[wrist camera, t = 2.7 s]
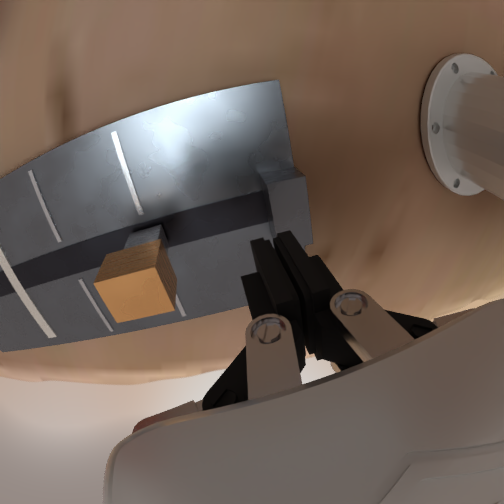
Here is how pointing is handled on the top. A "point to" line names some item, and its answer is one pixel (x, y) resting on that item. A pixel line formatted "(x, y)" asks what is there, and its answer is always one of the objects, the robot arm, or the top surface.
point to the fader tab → (138, 277)
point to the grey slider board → (148, 212)
